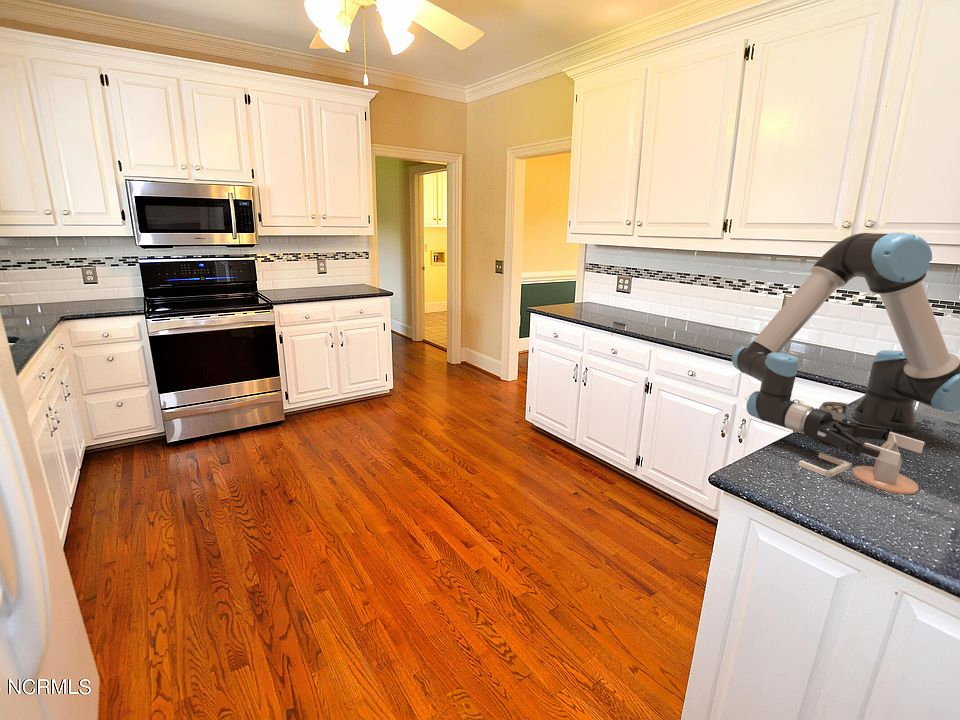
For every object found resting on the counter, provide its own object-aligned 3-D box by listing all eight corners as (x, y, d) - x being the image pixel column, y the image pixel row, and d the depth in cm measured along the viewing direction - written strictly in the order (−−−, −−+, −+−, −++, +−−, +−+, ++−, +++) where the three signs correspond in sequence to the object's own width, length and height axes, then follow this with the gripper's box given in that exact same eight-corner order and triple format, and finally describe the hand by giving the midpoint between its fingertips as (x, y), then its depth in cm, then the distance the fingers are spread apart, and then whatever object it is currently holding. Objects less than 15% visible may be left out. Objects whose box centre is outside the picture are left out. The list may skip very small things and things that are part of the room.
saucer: (865, 464, 122) (866, 461, 121) (926, 486, 112) (926, 483, 112) (843, 475, 115) (843, 472, 115) (905, 499, 106) (906, 496, 105)
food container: (814, 429, 143) (821, 398, 141) (839, 435, 140) (847, 403, 137) (809, 442, 134) (817, 408, 132) (836, 448, 130) (845, 414, 128)
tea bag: (892, 474, 115) (903, 435, 113) (895, 485, 110) (906, 445, 107) (873, 469, 117) (883, 431, 115) (874, 480, 112) (885, 440, 109)
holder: (820, 456, 125) (821, 452, 125) (850, 467, 120) (852, 463, 119) (798, 465, 120) (799, 461, 119) (829, 477, 114) (830, 473, 114)
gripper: (829, 426, 133) (927, 457, 116) (781, 443, 121) (883, 481, 103) (835, 400, 132) (936, 428, 114) (787, 415, 119) (892, 449, 101)
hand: (911, 453), depth 109 cm, fingers open, 13 cm apart
